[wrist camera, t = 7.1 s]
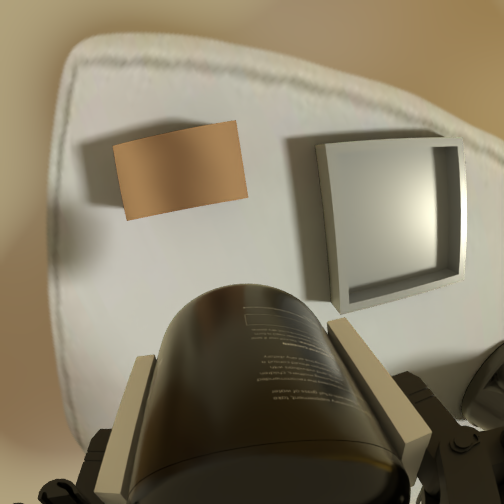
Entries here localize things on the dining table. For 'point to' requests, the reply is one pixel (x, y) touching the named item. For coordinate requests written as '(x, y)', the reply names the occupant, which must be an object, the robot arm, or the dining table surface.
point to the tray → (392, 218)
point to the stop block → (180, 170)
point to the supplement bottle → (258, 412)
